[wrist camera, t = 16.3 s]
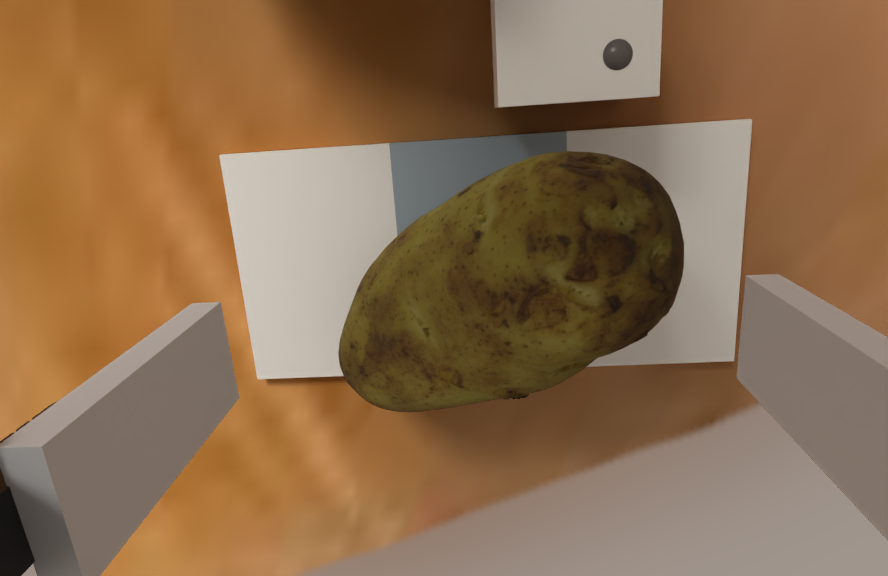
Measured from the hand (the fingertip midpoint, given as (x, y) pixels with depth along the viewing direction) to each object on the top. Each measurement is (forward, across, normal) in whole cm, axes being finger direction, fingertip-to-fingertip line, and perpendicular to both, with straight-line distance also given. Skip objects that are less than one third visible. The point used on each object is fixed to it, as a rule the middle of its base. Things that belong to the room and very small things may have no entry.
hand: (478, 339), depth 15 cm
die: (+11, +4, +8) cm, 14 cm away
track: (+11, 0, -1) cm, 11 cm away
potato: (+10, 0, -1) cm, 10 cm away
